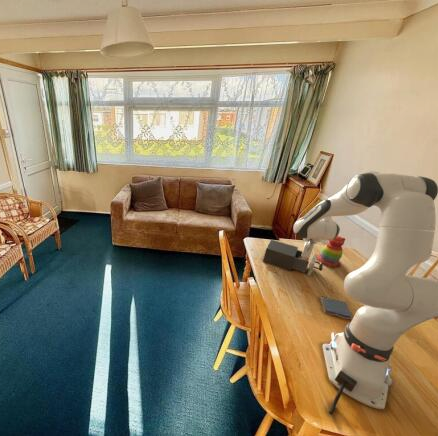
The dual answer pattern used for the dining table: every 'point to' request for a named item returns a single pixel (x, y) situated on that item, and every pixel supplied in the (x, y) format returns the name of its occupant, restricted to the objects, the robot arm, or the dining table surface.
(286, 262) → the cabinet
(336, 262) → the stacking bear
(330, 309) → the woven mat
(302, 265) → the drawer
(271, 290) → the dining table surface
